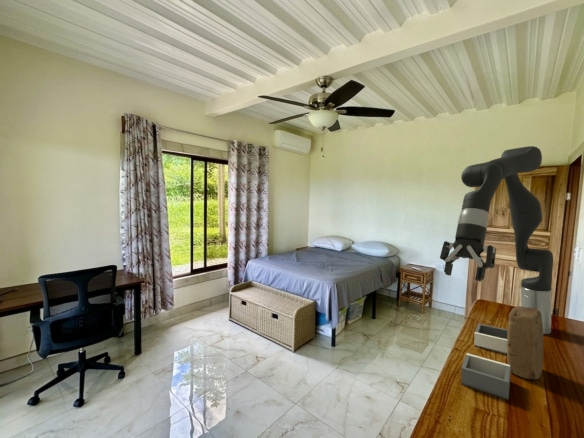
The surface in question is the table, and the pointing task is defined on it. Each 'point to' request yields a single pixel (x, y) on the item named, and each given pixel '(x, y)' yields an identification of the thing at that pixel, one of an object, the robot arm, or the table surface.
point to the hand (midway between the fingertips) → (462, 277)
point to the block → (525, 342)
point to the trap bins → (487, 363)
